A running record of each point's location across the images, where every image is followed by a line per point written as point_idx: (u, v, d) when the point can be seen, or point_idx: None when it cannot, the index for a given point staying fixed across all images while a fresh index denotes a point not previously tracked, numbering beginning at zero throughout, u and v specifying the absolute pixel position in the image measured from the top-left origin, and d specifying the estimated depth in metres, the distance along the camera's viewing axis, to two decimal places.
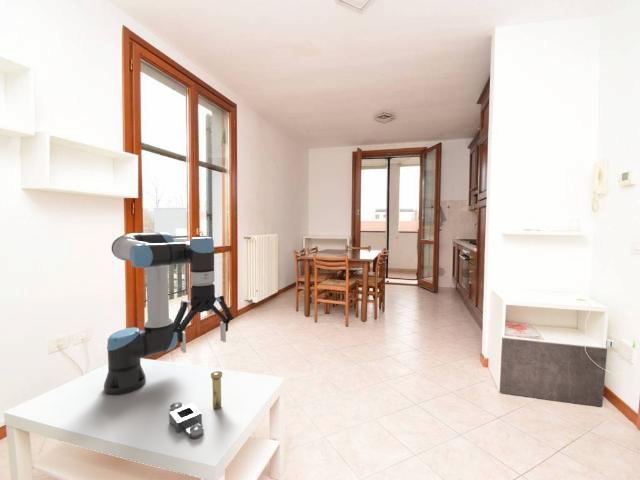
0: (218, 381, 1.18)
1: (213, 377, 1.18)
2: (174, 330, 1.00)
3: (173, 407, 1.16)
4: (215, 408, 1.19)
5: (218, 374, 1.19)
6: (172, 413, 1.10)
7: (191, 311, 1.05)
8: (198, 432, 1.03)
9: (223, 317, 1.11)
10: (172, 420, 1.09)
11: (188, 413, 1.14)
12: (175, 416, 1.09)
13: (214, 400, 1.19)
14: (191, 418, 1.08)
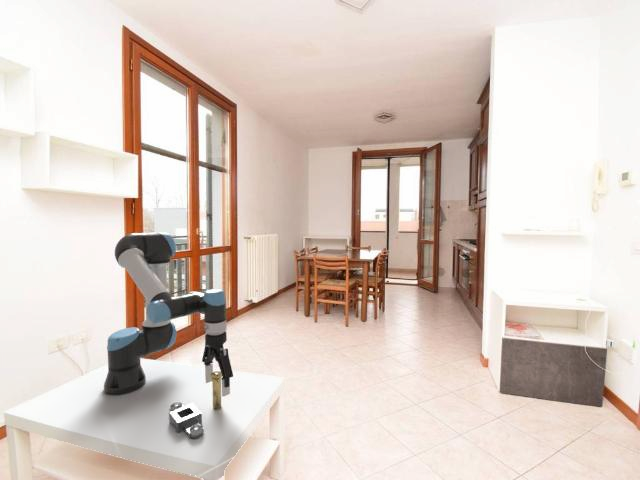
0: (218, 381, 1.18)
1: (213, 377, 1.18)
2: (202, 360, 1.25)
3: (173, 407, 1.16)
4: (215, 408, 1.19)
5: (218, 374, 1.19)
6: (172, 413, 1.10)
7: None
8: (198, 432, 1.03)
9: (221, 371, 1.14)
10: (172, 420, 1.09)
11: (188, 413, 1.14)
12: (175, 416, 1.09)
13: (214, 400, 1.19)
14: (191, 418, 1.08)
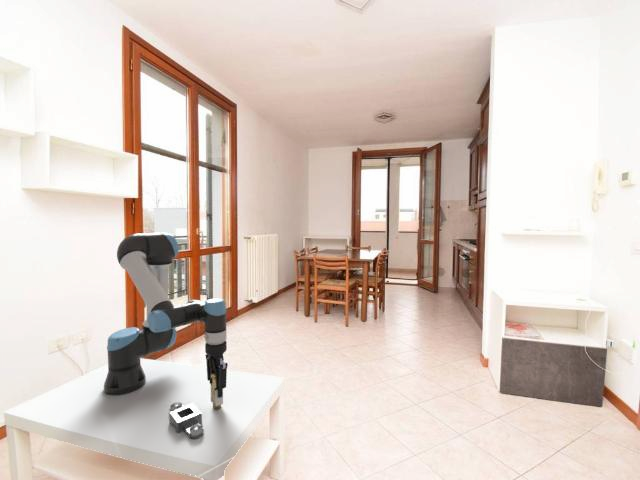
0: None
1: (213, 377, 1.18)
2: None
3: (173, 407, 1.16)
4: (215, 408, 1.19)
5: None
6: (172, 413, 1.10)
7: None
8: (198, 432, 1.03)
9: (216, 382, 1.17)
10: (172, 420, 1.09)
11: (188, 413, 1.14)
12: (175, 416, 1.09)
13: (214, 400, 1.19)
14: (191, 418, 1.08)
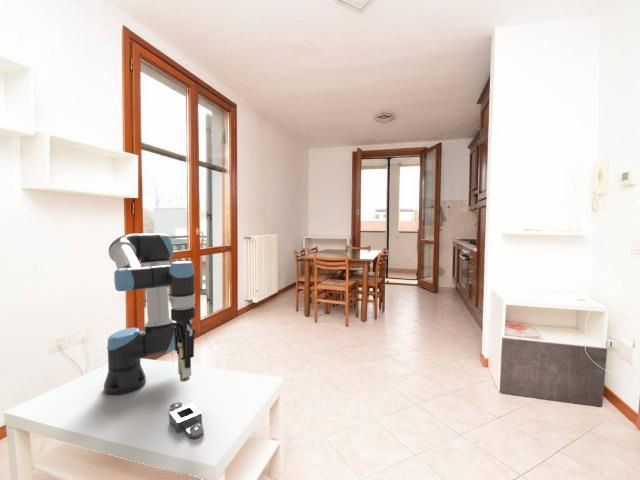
0: None
1: (180, 345, 1.08)
2: (175, 349, 1.12)
3: (173, 407, 1.16)
4: (182, 380, 1.09)
5: None
6: (172, 413, 1.10)
7: None
8: (198, 432, 1.03)
9: (183, 351, 1.07)
10: (172, 420, 1.09)
11: (188, 413, 1.14)
12: (175, 416, 1.09)
13: (181, 371, 1.09)
14: (191, 418, 1.08)
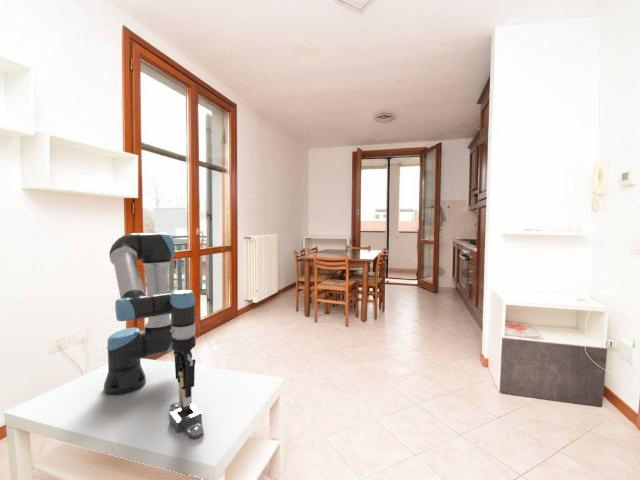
0: None
1: (180, 375, 1.08)
2: None
3: (173, 407, 1.16)
4: (183, 408, 1.09)
5: None
6: (172, 413, 1.10)
7: None
8: (198, 432, 1.03)
9: (183, 381, 1.08)
10: (172, 420, 1.09)
11: (188, 413, 1.14)
12: (175, 416, 1.09)
13: (182, 400, 1.09)
14: (191, 418, 1.08)
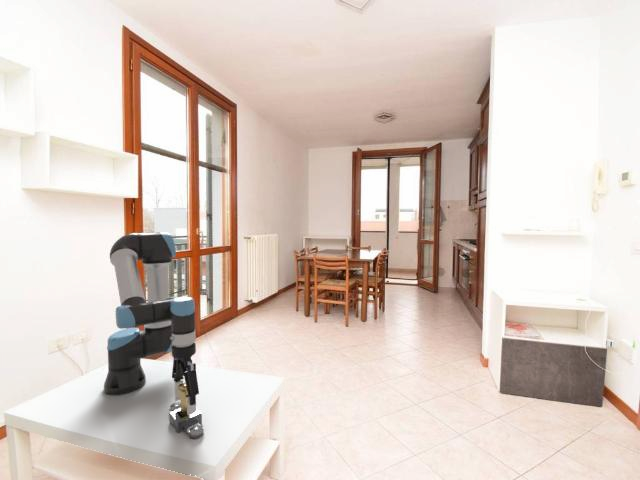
0: (186, 393, 1.10)
1: (180, 389, 1.09)
2: (172, 376, 1.16)
3: (173, 407, 1.16)
4: None
5: None
6: (172, 413, 1.10)
7: None
8: (198, 432, 1.03)
9: (187, 388, 1.05)
10: (172, 420, 1.09)
11: None
12: (175, 416, 1.09)
13: (182, 414, 1.10)
14: (191, 418, 1.08)
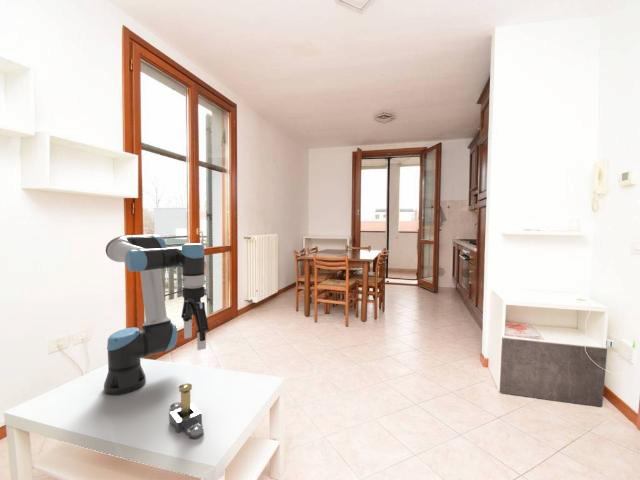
0: (187, 395, 1.09)
1: (181, 390, 1.08)
2: (181, 316, 1.24)
3: (173, 407, 1.16)
4: None
5: (187, 387, 1.09)
6: (172, 413, 1.10)
7: None
8: (198, 432, 1.03)
9: (197, 325, 1.11)
10: (172, 420, 1.09)
11: None
12: (175, 416, 1.09)
13: (182, 415, 1.09)
14: (191, 418, 1.08)
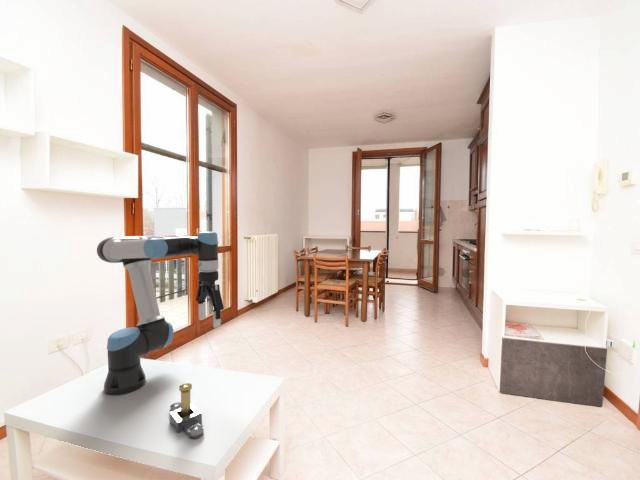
0: (187, 394, 1.09)
1: (181, 390, 1.09)
2: (196, 299, 1.35)
3: (173, 407, 1.16)
4: None
5: (187, 386, 1.10)
6: (172, 413, 1.10)
7: None
8: (198, 432, 1.03)
9: (213, 305, 1.23)
10: (172, 420, 1.09)
11: None
12: (175, 416, 1.09)
13: (182, 415, 1.10)
14: (191, 418, 1.08)
